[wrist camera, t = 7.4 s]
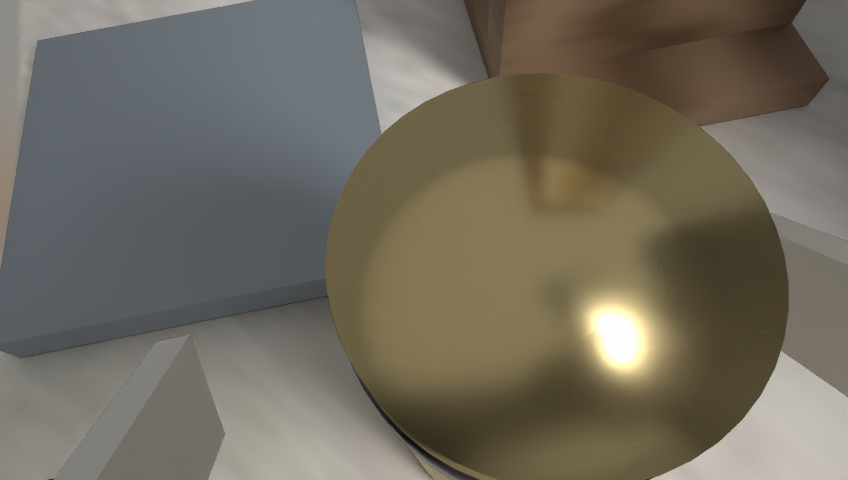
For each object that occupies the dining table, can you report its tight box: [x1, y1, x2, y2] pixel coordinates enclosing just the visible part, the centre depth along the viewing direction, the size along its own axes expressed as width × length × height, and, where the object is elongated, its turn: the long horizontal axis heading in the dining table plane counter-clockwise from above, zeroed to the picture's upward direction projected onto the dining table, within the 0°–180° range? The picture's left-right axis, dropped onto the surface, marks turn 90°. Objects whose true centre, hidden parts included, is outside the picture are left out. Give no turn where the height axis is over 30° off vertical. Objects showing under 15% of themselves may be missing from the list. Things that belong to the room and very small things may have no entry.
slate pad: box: [0, 0, 381, 358], centre depth 23 cm, size 14×14×2 cm
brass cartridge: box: [325, 73, 789, 480], centre depth 13 cm, size 6×6×12 cm
